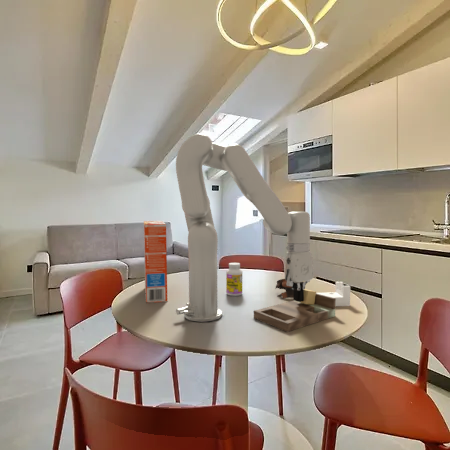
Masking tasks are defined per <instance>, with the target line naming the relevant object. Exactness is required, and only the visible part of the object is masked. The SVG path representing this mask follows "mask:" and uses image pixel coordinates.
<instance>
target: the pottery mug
mask: <svg viewBox="0 0 450 450" xmlns="http://www.w3.org/2000/svg"><path fill="white" fill-rule="evenodd" d="M276 283H277V284H276V285H275V288H274V289H275V290H276V289H279V290H284V292H281V297H282V299H289V298H290V299H294V289H292V287H291V286H287V285H286V283H287V281H286V280H285V278H281V279H278V280H277V281H276Z"/></svg>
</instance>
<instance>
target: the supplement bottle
mask: <svg viewBox="0 0 450 450" xmlns="http://www.w3.org/2000/svg"><path fill="white" fill-rule="evenodd" d="M225 275H226V280H225V281H226V282H225V284H226V291H225V292H226V295H227V296H231V297H239V296H241V295H242V294H243V270H242V269H241V263H240V262H229V263H228V269H227V270H226V274H225Z"/></svg>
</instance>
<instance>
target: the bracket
mask: <svg viewBox="0 0 450 450" xmlns="http://www.w3.org/2000/svg"><path fill="white" fill-rule="evenodd" d="M334 289H335V292H333V291H331V292H316V293H317V294H320V295H324V296H328V297H332V298H335V299H336V301H335V307H350V306H351V285H344V281H335V288H334Z"/></svg>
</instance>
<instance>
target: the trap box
mask: <svg viewBox="0 0 450 450" xmlns="http://www.w3.org/2000/svg"><path fill="white" fill-rule="evenodd" d="M317 293H318V292H316V296H315V303H314V305H312V304H304V303H301V302H297V301H294V300H291V301H287V302H282V303H279V304H275V305H271V306H267V307H263V308H260V309H256V310H255V309H254V310H253V319H254V320H255V319H256V320H257V321H260V322H262V323H265V324H267V325H270V326H272V327H274V328H277V329H279V330H282V331H284V332H287V333H288V332H292V331H294V330H298V329H300V328H304V327H307V326H310V325H313V324H316V323H318V322H321V321H324V320H327V319H330V318H333V317H336V306H335V301H336V299H335V298H332V297H328V296H324V295H320V294H317Z"/></svg>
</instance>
